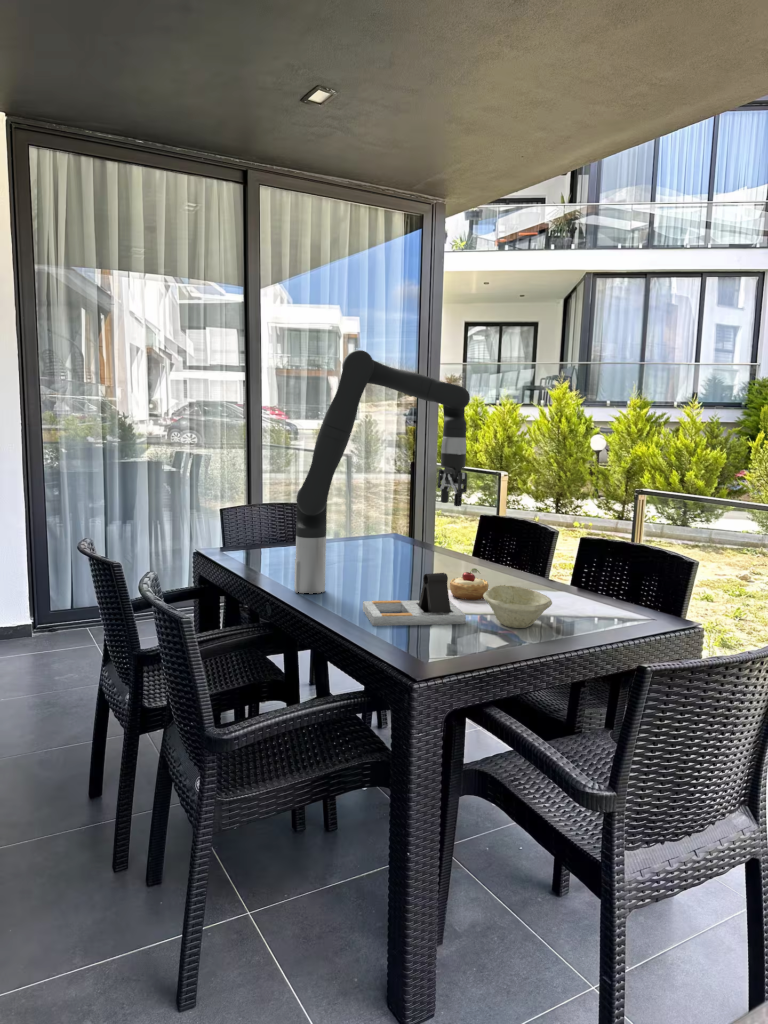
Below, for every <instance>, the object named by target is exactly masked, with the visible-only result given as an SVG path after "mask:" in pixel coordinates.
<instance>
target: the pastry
mask: <svg viewBox="0 0 768 1024" xmlns="http://www.w3.org/2000/svg"><path fill="white" fill-rule="evenodd" d="M474 570H475V571H476V572H477V573H479V574H481V573H480V571H479V570H478V569H477V568H472V569H470V571H469V572H467V571H466V572H463V574H462V575H461V577H456V578H455V577H454V578H452V579H451V580H450V582H449V590H450V592H451V594H452V597H454V598H456V599H459V600H464V601H465V600H466V601H467V600H468V601H479V600H478V599H480V600H483V599H484V597H483V594H484V593H485V592H486V591H488V590H489V583H488V580H485V579H483V578H479V577H476V575H475V574H474V573H472V571H474Z"/></svg>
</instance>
